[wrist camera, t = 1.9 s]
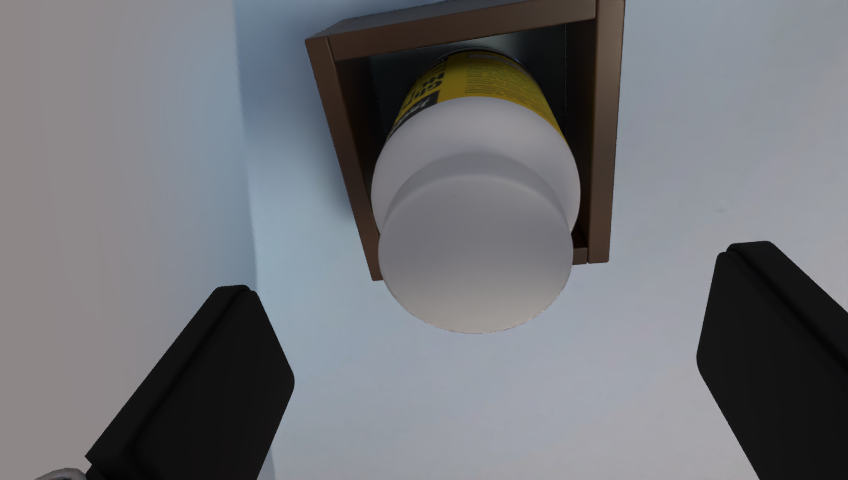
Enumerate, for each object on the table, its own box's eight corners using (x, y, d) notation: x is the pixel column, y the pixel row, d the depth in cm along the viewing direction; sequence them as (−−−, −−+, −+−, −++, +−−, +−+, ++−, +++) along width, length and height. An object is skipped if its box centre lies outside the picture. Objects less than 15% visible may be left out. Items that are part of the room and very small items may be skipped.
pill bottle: (428, 21, 18) (383, 94, 9) (569, 74, 18) (669, 196, 9) (387, 158, 21) (323, 316, 12) (508, 199, 22) (536, 380, 13)
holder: (341, 19, 18) (302, 39, 14) (587, -25, 17) (627, -18, 12) (389, 222, 23) (371, 281, 19) (582, 203, 22) (609, 263, 17)
